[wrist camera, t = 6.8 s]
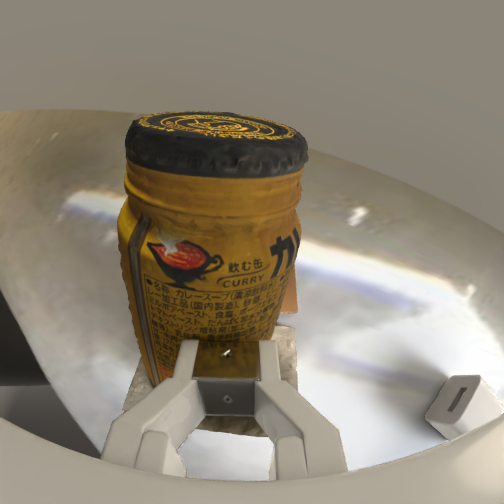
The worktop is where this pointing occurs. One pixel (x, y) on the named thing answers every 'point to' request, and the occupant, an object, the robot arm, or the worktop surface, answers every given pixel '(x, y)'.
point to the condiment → (209, 239)
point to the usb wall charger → (463, 406)
